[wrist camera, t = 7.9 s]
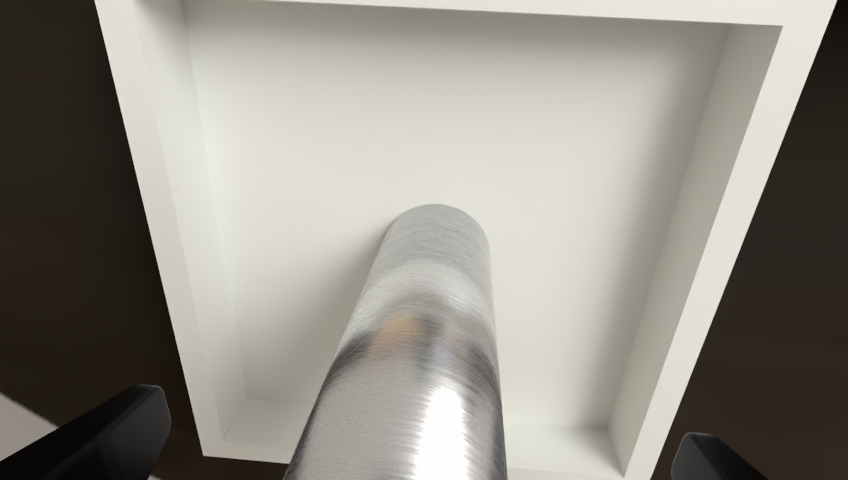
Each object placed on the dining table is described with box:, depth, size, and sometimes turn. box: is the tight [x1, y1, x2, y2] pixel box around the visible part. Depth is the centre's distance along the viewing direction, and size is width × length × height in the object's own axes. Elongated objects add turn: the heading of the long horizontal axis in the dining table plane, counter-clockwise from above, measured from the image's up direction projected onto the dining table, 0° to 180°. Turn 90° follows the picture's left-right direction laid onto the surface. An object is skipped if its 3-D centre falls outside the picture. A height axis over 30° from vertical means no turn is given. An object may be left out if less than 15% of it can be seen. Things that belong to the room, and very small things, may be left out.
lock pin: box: [283, 204, 508, 480], centre depth 10 cm, size 3×3×9 cm
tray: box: [95, 0, 837, 480], centre depth 13 cm, size 15×15×2 cm
